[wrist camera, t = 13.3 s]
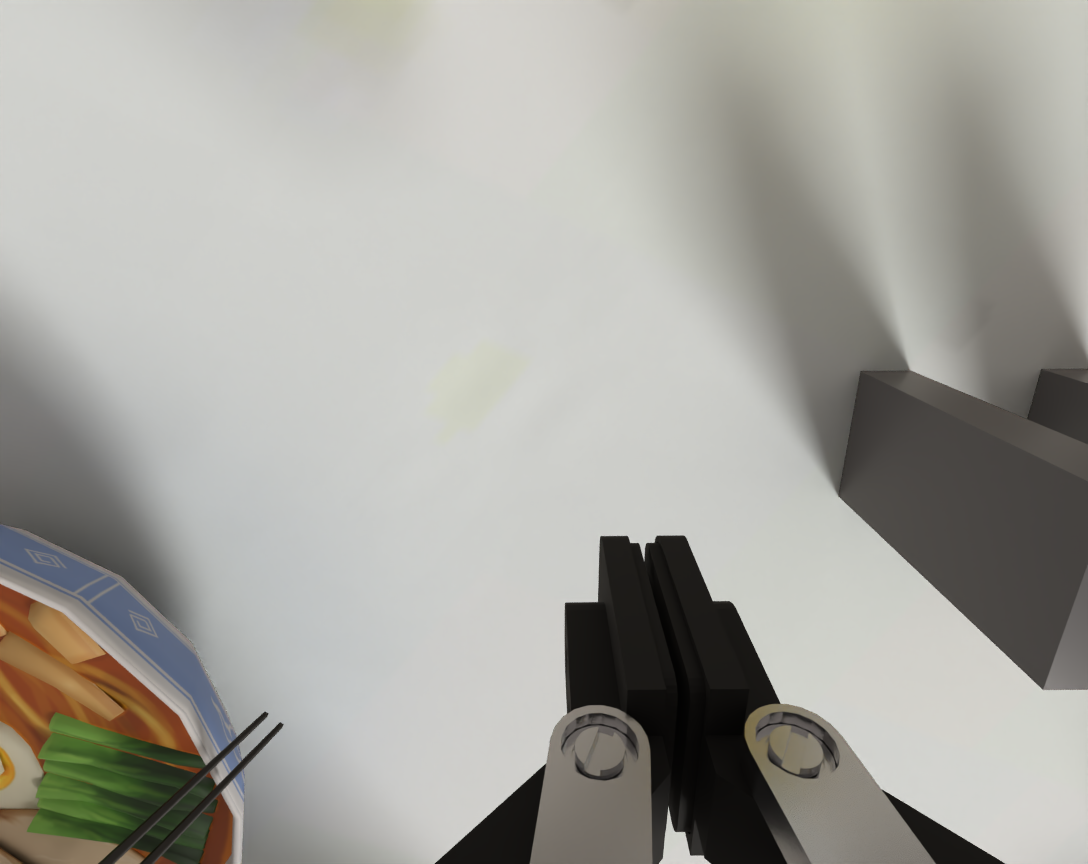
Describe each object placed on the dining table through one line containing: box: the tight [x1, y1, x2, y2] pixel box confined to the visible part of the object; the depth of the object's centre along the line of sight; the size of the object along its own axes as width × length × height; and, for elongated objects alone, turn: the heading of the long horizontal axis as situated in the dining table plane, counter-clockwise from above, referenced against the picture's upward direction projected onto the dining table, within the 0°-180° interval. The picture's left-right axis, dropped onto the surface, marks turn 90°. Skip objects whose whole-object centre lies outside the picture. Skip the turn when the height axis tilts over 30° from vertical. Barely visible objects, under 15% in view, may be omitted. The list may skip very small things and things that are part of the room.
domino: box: [839, 371, 1088, 690], centre depth 17 cm, size 2×5×10 cm, turn 1°
